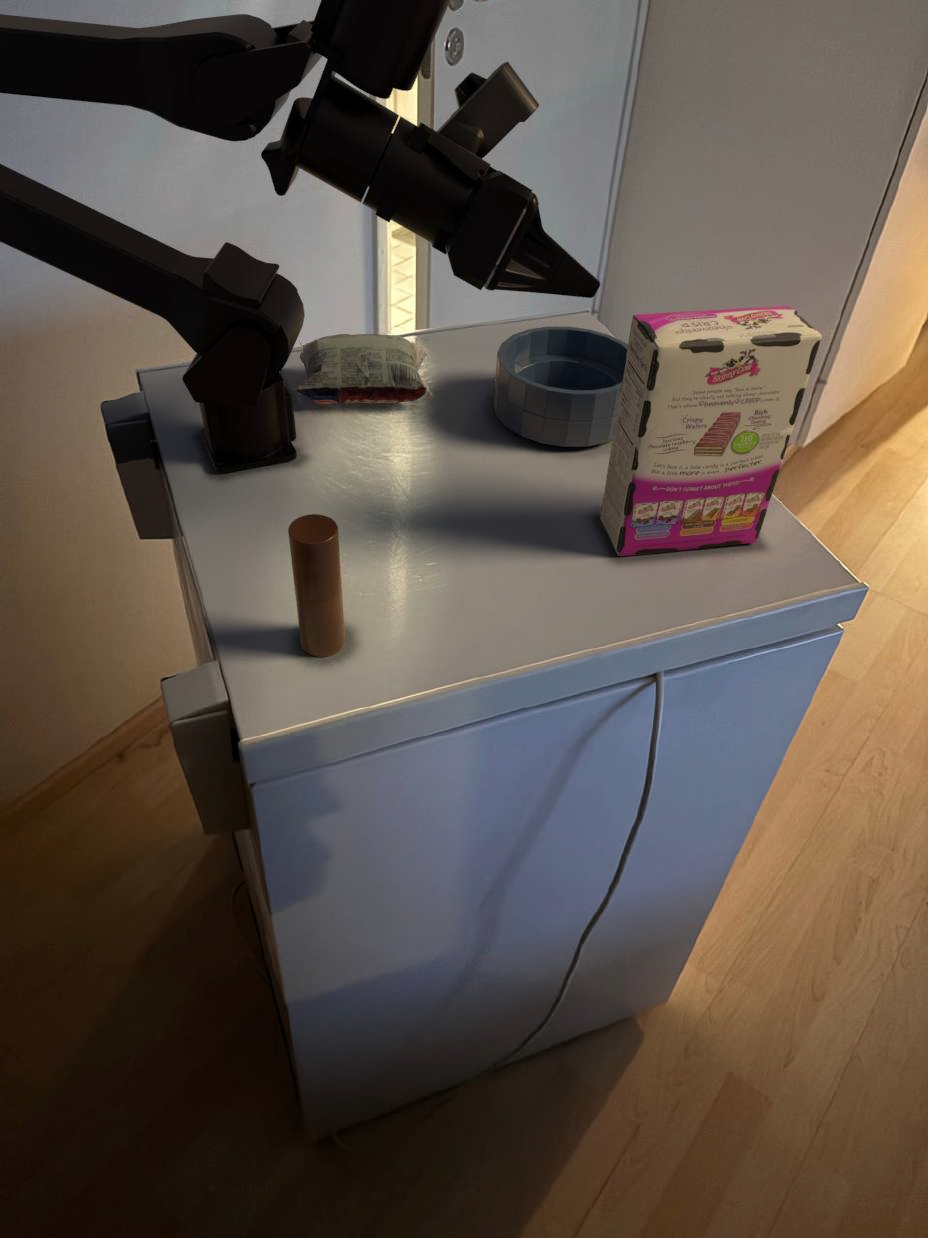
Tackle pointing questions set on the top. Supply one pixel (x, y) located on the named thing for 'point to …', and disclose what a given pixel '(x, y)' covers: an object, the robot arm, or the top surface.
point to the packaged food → (362, 369)
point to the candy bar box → (703, 426)
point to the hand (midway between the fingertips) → (583, 279)
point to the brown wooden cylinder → (317, 583)
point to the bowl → (560, 385)
